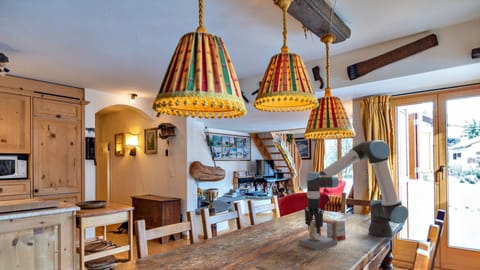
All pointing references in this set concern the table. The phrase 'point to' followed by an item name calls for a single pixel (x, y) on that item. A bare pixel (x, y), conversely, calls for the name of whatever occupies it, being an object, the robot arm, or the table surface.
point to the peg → (313, 231)
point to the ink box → (337, 229)
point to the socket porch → (321, 238)
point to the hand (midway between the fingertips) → (314, 237)
